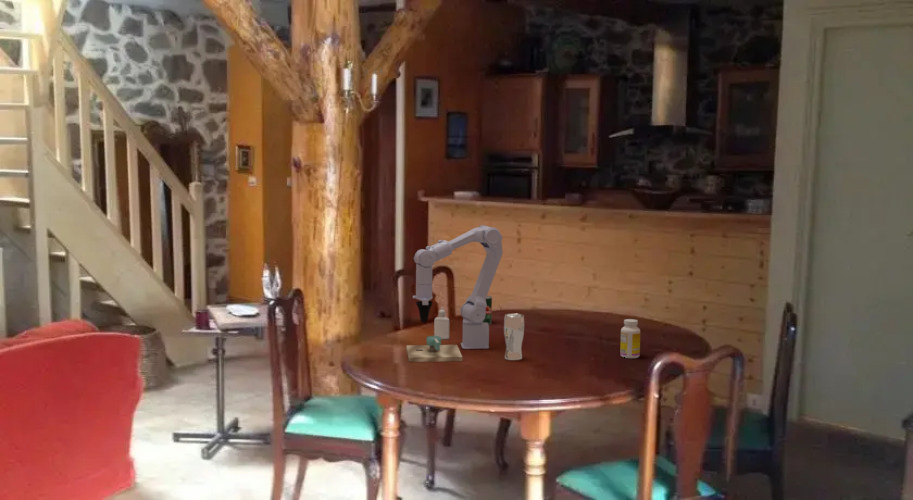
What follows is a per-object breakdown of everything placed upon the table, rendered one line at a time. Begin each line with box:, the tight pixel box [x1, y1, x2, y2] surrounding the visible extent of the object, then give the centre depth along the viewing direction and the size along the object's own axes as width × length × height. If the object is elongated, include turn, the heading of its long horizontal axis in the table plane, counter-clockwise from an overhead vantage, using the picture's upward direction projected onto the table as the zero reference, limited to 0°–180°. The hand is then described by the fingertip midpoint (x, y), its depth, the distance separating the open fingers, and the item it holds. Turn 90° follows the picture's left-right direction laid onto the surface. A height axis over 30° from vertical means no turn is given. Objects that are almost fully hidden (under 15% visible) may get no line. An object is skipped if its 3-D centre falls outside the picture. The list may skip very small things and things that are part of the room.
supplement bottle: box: [619, 318, 641, 359], centre depth 303 cm, size 7×7×13 cm
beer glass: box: [503, 313, 525, 361], centre depth 299 cm, size 7×7×15 cm
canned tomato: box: [483, 295, 493, 326], centre depth 358 cm, size 8×8×11 cm
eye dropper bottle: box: [433, 306, 450, 340], centre depth 328 cm, size 4×6×12 cm
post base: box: [406, 344, 463, 363], centre depth 303 cm, size 18×18×4 cm
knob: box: [426, 335, 442, 350], centre depth 299 cm, size 11×5×3 cm, turn 12°
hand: (423, 321), depth 308 cm, fingers closed
